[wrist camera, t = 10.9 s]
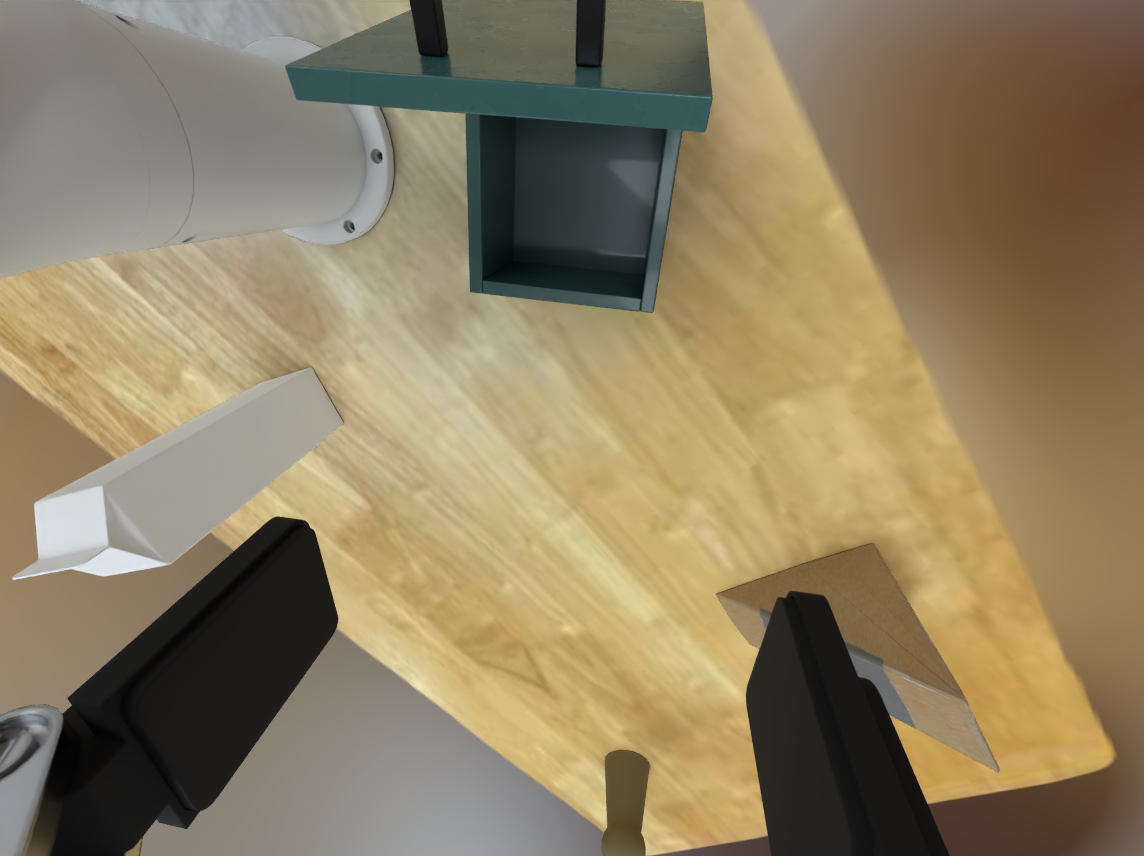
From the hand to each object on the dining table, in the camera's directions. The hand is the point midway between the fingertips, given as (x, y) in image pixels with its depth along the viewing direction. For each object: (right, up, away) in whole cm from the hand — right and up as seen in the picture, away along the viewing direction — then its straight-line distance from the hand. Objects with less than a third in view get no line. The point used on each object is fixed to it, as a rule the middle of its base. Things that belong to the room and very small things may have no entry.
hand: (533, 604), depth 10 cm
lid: (0, +17, +8) cm, 19 cm away
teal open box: (+2, +21, +23) cm, 31 cm away
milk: (-24, +6, +36) cm, 43 cm away
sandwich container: (+24, -13, +38) cm, 46 cm away
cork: (+8, -42, +56) cm, 70 cm away
